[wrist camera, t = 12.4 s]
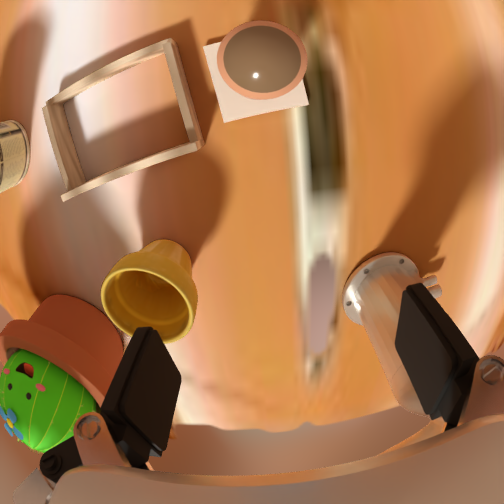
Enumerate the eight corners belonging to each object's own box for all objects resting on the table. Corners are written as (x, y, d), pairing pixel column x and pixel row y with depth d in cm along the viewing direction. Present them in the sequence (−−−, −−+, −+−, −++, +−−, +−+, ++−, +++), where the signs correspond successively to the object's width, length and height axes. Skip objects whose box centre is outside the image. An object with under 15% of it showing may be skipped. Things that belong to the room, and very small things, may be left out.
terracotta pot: (282, 39, 22) (295, 14, 15) (297, 96, 26) (316, 90, 18) (217, 52, 23) (207, 31, 16) (233, 110, 26) (229, 108, 19)
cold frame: (176, 42, 23) (164, 31, 18) (204, 144, 29) (197, 150, 24) (57, 101, 24) (33, 103, 20) (83, 189, 30) (63, 202, 26)
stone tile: (287, 31, 23) (288, 29, 22) (306, 105, 27) (308, 104, 26) (204, 48, 23) (203, 46, 23) (224, 122, 28) (224, 122, 27)
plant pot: (142, 297, 38) (121, 345, 29) (119, 231, 33) (85, 271, 24) (212, 291, 38) (204, 343, 29) (196, 219, 33) (179, 260, 24)
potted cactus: (143, 381, 48) (115, 495, 26) (52, 356, 46) (9, 447, 24) (128, 293, 38) (60, 448, 15) (21, 270, 36) (-61, 371, 13)
